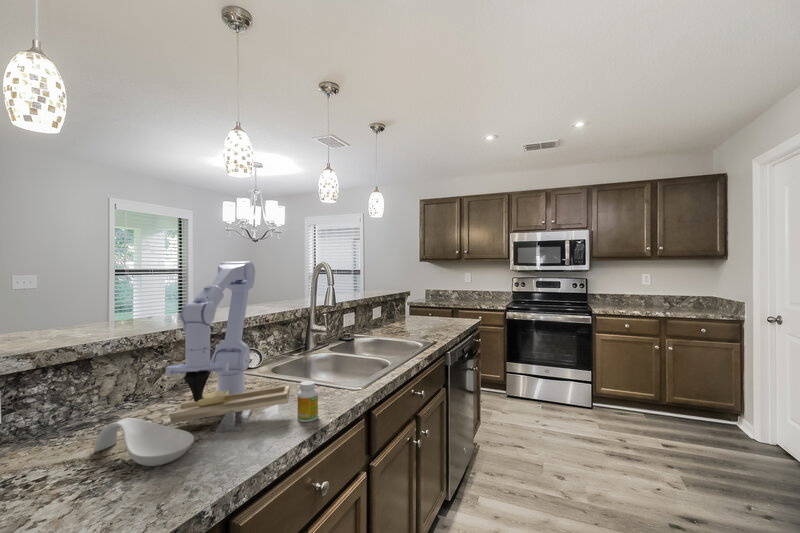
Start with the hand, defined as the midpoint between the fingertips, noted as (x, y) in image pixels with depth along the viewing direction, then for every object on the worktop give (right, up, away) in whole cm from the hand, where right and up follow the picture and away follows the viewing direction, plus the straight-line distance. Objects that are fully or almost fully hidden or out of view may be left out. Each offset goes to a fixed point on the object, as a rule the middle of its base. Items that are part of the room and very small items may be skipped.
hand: (198, 400), depth 95 cm
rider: (+4, -2, +1) cm, 5 cm away
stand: (+9, -7, +2) cm, 11 cm away
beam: (+9, -3, +2) cm, 9 cm away
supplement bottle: (+28, -7, +4) cm, 29 cm away
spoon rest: (-4, -7, -15) cm, 17 cm away
